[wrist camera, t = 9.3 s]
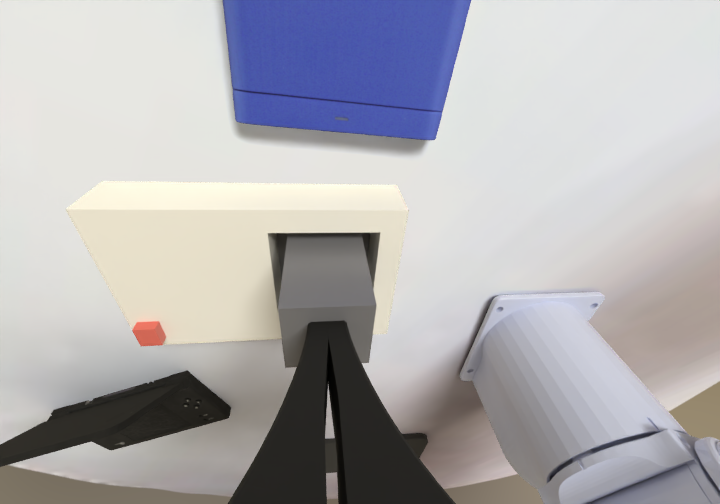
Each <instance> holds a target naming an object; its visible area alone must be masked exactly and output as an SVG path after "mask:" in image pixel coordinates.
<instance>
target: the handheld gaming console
mask: <svg viewBox="0 0 720 504" xmlns="http://www.w3.org/2000/svg"><path fill="white" fill-rule="evenodd" d="M230 410H231V407H230V406H229V405H228V404H226V403H225V402H224V401H223V400H222V399H220V398H219V397H218V396H217V395H216V394H215V393H213V392H212V391H211V390H210V389H208V388H207V387H206V386H205V385H204V384H202V383H201V382H200V381H199V380H198V379H196V378H195V377H194V376H193V375H192V374H190V372H189V371H184V372H181V373H178V374H174V375H171V376H169V377H165V378H162V379H159V380H155V381H154V383H153V382H149V384H147V383H145V384H142V385H138V386H136V387H131V388H128V389H124V390H121V391H118V392H114V393H111V394H108V395H104V396H101V397H98V398H95V399H93V401H89V400H88V401H84V402H81V403H78V404H74V405H71V406H70V405H69V406H66V407H62V408H59V409H56V410H53V412H52V413H51V415H52V416H50V418H49V419H48V421H47V422H43V423H41V424H39V425H37V426H36V427H34V428H32V429H30V430H28V431H26V432H24V433H22V434H20V435H18V436H16V437H14V438H12V439H10V440H8V441H7V442H5V443H3V444H1V445H0V467H1V466H5V465H8V464H12V463H16V462H19V461H23V460H26V459H30V458H33V457H37V456H41V455H44V454H48V453H51V452H55V451H59V450H62V449H66V448H69V447H73V446H76V445H80V444H84V443H87V442H91V441H92V442H94V443H96V444H98V445H100V446H102V447H104V448H107V449H109V450H114V449H118V448H122V447H125V446H129V445H133V444H137V443H140V442H144V441H148V440H151V439H155V438H159V437H162V436H166V435H170V434H173V433H177V432H181V431H184V430H188V429H192V428H195V427H199V426H202V425H206V424H209V423H213V422H217V421H220V420H224V419H227V418H229V416H230Z"/></svg>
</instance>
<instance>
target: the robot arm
mask: <svg viewBox="0 0 720 504" xmlns="http://www.w3.org/2000/svg"><path fill="white" fill-rule="evenodd" d="M604 299H605V296H604V295H603V294H602V293H600V292H578V293H549V294H520V295H499V296H497V297H495V298H494V299H493V300H492V303H491V305H490V307H489V309H488V312H487V314H486V316H485V318H484V321H483V323H482V325H481V327H480V330H479V332H478V334H477V336H476V339H475V341H474V343H473V346H472V348H471V350H470V352H469V355H468V357H467V359H466V361H465V364H464V366H463V368H462V370H461V373H460V379H461V380H462V381H473V384H474V386H475V388H476V391H477V393H478V395H479V398H480V400H481V402H482V405H483V407H484V409H485V411H486V414H487V416H488V418H489V421H490V423H491V425H492V428H493V430H494V432H495V435H496V437H497V439H498V442H499V444H500V446H501V449H502V451H503V453H504V455H505V457H506V459H507V460H508V462H509V463H510V465H511V466H512V467H513V469H514V470H515V471H516V472H517V473H518V474H519V475H520V476H521V477H522V478H523V479H524V480H525V481H526V482H528V483H529V484H530V485H531V486H533V487H535V488H536V489H538V492H539V494H540V497H541V499H542V501H543V503H544V504H720V440H718V439H715V438H712V437H705V438H703V439H699V438H696V437H692V436H690V435H689V434H687V432H686V431H685V430H684V429H683V428H682V427H681V425H680V424H679V423H678V422H677V421H676V420H675V419H674V418H673V417H672V415H671V414H670V413H669V412H668V411H667V410H666V409H665V407H664V406H663V405H662V404H661V403H660V402H659V401H658V400H657V399H656V397H655V396H654V395H653V394H652V393H651V392H650V391H649V390H648V388H647V387H646V386H645V385H644V384H643V383H642V382H641V381H640V379H639V378H638V377H637V376H636V375H635V374H634V373H633V372H632V370H631V369H630V368H629V367H628V366H627V365H626V364H625V363H624V361H623V360H622V359H621V358H620V357H619V356H618V355H617V354H616V353H615V351H614V350H613V349H612V348H611V347H610V346H609V345H608V344H607V342H606V341H605V340H604V339H603V338H602V337H601V336H600V335H599V333H598V332H597V331H596V330H595V329H594V328H593V327H592V326H591V324H590V323H589V322H588V321H589V320H590V318H591V317H592V316H593V314H594V313H595V312H596V310H597V309H598V307H599V306H600V305H601V303H602V302H603V301H604ZM328 385H329V393H330V402H331V410H332V418H333V426H334V434H335V443H336V454H337V477H338V500H339V501H338V502H339V504H455V502H454V501H453V500H452V499H451V498H450V497H449V495H448V494H447V493H446V492H445V491H444V489H443V488H442V487H441V486H440V485H439V483H438V482H437V481H436V480H435V478H434V477H433V476H432V474H431V473H430V472H429V471H428V469H427V468H426V467H425V466H424V464H423V463H422V462H421V460H420V459H419V457H418V456H417V455H416V453H415V452H414V451H413V449H412V448H411V446H410V445H409V444H408V442H407V441H406V440H405V438H404V437H403V435H402V434H401V432H400V431H399V429H398V428H397V426H396V425H395V423H394V422H393V420H392V419H391V417H390V415H389V414H388V412H387V410H386V409H385V407H384V405H383V404H382V402H381V400H380V399H379V397H378V395H377V393H376V391H375V389H374V388H373V386H372V384H371V382H370V380H369V378H368V376H367V374H366V372H365V370H364V368H363V365H362V363H361V361H360V359H359V357H358V354H357V352H356V349H355V347H354V344H353V342H352V339H351V336H350V333H349V329H348V326H347V322H345V321H344V320H343V321H320V322H310V323H309V324H308V328H307V334H306V339H305V343H304V347H303V350H302V354H301V357H300V360H299V363H298V366H297V368H296V371H295V374H294V377H293V380H292V382H291V384H290V387H289V389H288V392H287V394H286V397H285V399H284V401H283V404H282V406H281V408H280V410H279V412H278V415H277V417H276V419H275V421H274V423H273V425H272V427H271V429H270V431H269V433H268V435H267V437H266V438H265V440H264V442H263V444H262V446H261V448H260V450H259V452H258V454H257V455H256V457H255V459H254V461H253V462H252V464H251V466H250V468H249V469H248V471H247V473H246V474H245V476H244V478H243V479H242V481H241V483H240V484H239V486H238V488H237V489H236V491H235V493H234V494H233V496H232V498H231V499H230V501H229V502H228V504H327V497H326V461H325V426H326V408H327V390H328Z"/></svg>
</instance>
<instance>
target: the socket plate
mask: <svg viewBox="0 0 720 504" xmlns="http://www.w3.org/2000/svg"><path fill="white" fill-rule="evenodd" d="M66 211H67V213H68V215H69V217H70V218H71V220H72V222H73V224H74V226H75V227H76V229H77V231H78V233H79V235H80V236H81V238H82V240H83V242H84V244H85V246H86V247H87V249H88V251H89V253H90V255H91V256H92V258H93V260H94V262H95V264H96V265H97V267H98V269H99V271H100V273H101V275H102V276H103V278H104V280H105V282H106V284H107V285H108V287H109V289H110V291H111V293H112V294H113V296H114V298H115V300H116V302H117V304H118V305H119V307H120V309H121V311H122V313H123V314H124V316H125V318H126V320H127V322H128V323H129V325H130V327H131V329H132V331H133V333H134V335H135V336H136V338H137V340H138V342H139V344H140V345H141V346H154V345H167V344H187V343H208V342H228V341H248V340H269V339H282V336H281V328H280V321H279V313H278V305H279V297H280V290H281V282H282V274H283V266H284V258H285V251H286V243H287V235H288V233H361V234H362V238H363V243H364V248H365V252H366V257H367V262H368V267H369V271H370V276H371V281H372V286H373V290H374V295H375V300H376V305H377V306H376V313H375V321H374V328H373V334H387V330H388V324H389V319H390V313H391V308H392V302H393V296H394V291H395V285H396V280H397V274H398V269H399V263H400V257H401V252H402V246H403V241H404V235H405V229H406V224H407V218H408V213H409V210H408V207H407V205H406V203H405V201H404V199H403V197H402V195H401V193H400V191H399V189H398V187H397V185H357V184H282V183H207V182H132V181H102V182H100V183H99V184H98V185H96V186H95V187H94V188H93V189H91V190H90V191H89V192H87V193H86V194H85V195H84V196H82V197H81V198H80V199H78V200H77V201H76V202H75V203H73V204H72V205H71V206H69V207H68V208H67V209H66Z"/></svg>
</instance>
